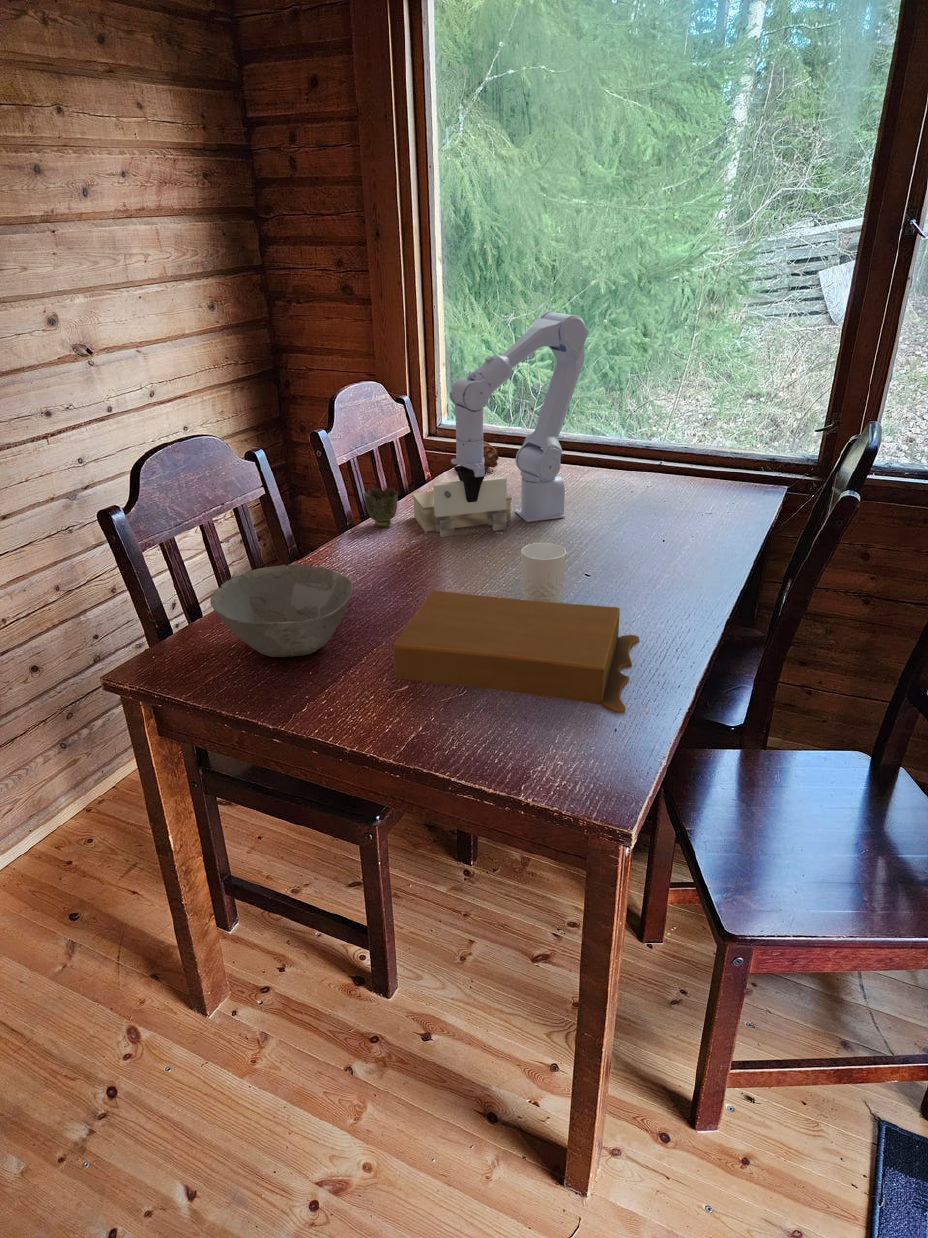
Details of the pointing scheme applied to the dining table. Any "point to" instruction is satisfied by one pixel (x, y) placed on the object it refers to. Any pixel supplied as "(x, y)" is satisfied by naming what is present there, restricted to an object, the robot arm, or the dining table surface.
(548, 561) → the white cup
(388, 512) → the cup
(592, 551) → the dining table surface
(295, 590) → the ceramic bowl
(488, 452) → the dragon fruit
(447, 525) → the cabinet
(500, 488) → the door
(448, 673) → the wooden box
